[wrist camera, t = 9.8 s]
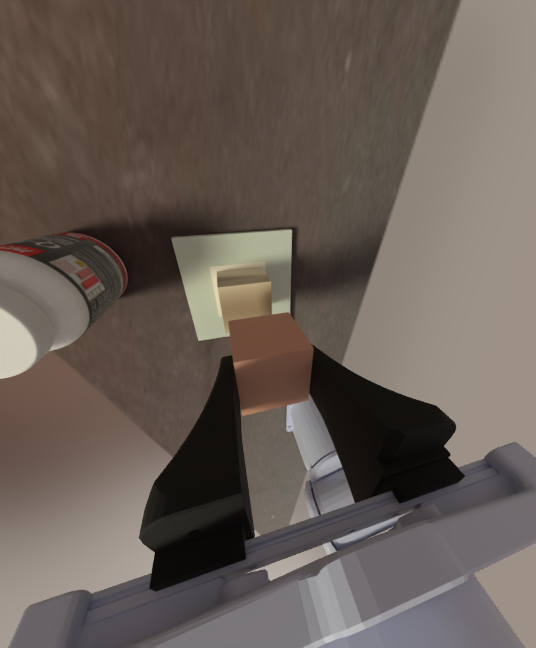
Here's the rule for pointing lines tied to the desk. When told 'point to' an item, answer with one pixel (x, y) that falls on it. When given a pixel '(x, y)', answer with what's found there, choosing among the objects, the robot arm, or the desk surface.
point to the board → (231, 254)
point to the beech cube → (244, 294)
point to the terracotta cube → (270, 362)
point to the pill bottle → (53, 294)
